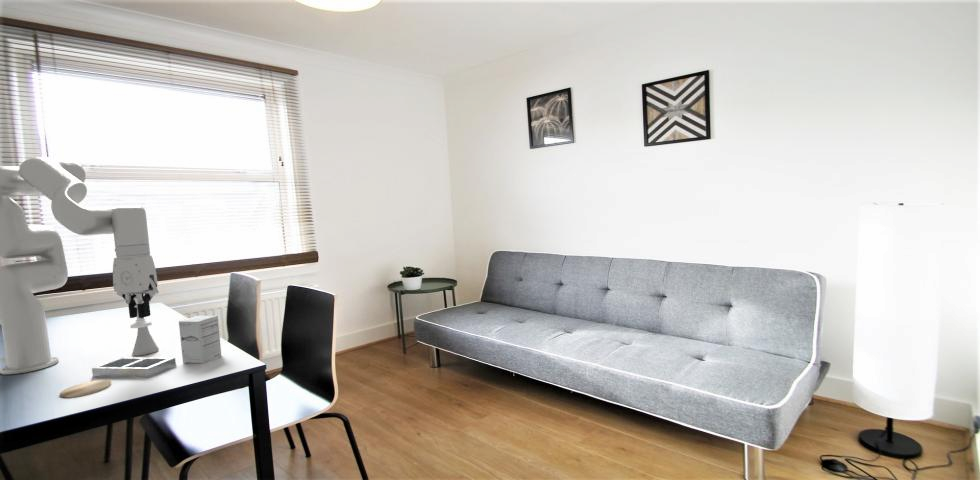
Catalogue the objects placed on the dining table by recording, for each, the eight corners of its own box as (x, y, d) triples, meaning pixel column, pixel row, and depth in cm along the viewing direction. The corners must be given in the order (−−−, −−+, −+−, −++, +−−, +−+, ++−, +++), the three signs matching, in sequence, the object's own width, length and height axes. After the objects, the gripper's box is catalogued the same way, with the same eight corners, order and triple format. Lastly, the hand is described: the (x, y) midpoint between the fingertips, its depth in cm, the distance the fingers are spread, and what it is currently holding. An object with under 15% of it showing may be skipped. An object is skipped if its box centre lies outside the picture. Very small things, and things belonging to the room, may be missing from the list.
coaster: (49, 397, 117) (48, 395, 117) (89, 381, 127) (89, 379, 127) (82, 398, 116) (82, 396, 115) (121, 382, 125) (120, 380, 125)
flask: (155, 347, 157) (151, 318, 156) (162, 351, 152) (159, 321, 151) (128, 354, 151) (124, 323, 150) (135, 357, 147) (131, 326, 146)
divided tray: (92, 376, 131) (91, 368, 131) (123, 365, 140) (122, 357, 140) (148, 377, 128) (147, 368, 128) (176, 365, 137) (175, 357, 137)
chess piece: (140, 328, 129) (136, 292, 128) (125, 328, 130) (121, 292, 129) (156, 323, 134) (152, 288, 133) (142, 323, 135) (138, 288, 134)
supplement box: (181, 363, 139) (177, 321, 138) (202, 354, 146) (198, 314, 145) (202, 364, 137) (198, 321, 136) (222, 355, 144) (218, 314, 143)
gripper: (95, 253, 128) (103, 320, 130) (146, 252, 125) (153, 320, 127) (121, 250, 135) (128, 313, 137) (169, 249, 133) (176, 313, 134)
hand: (140, 316), depth 132 cm, fingers closed on chess piece
